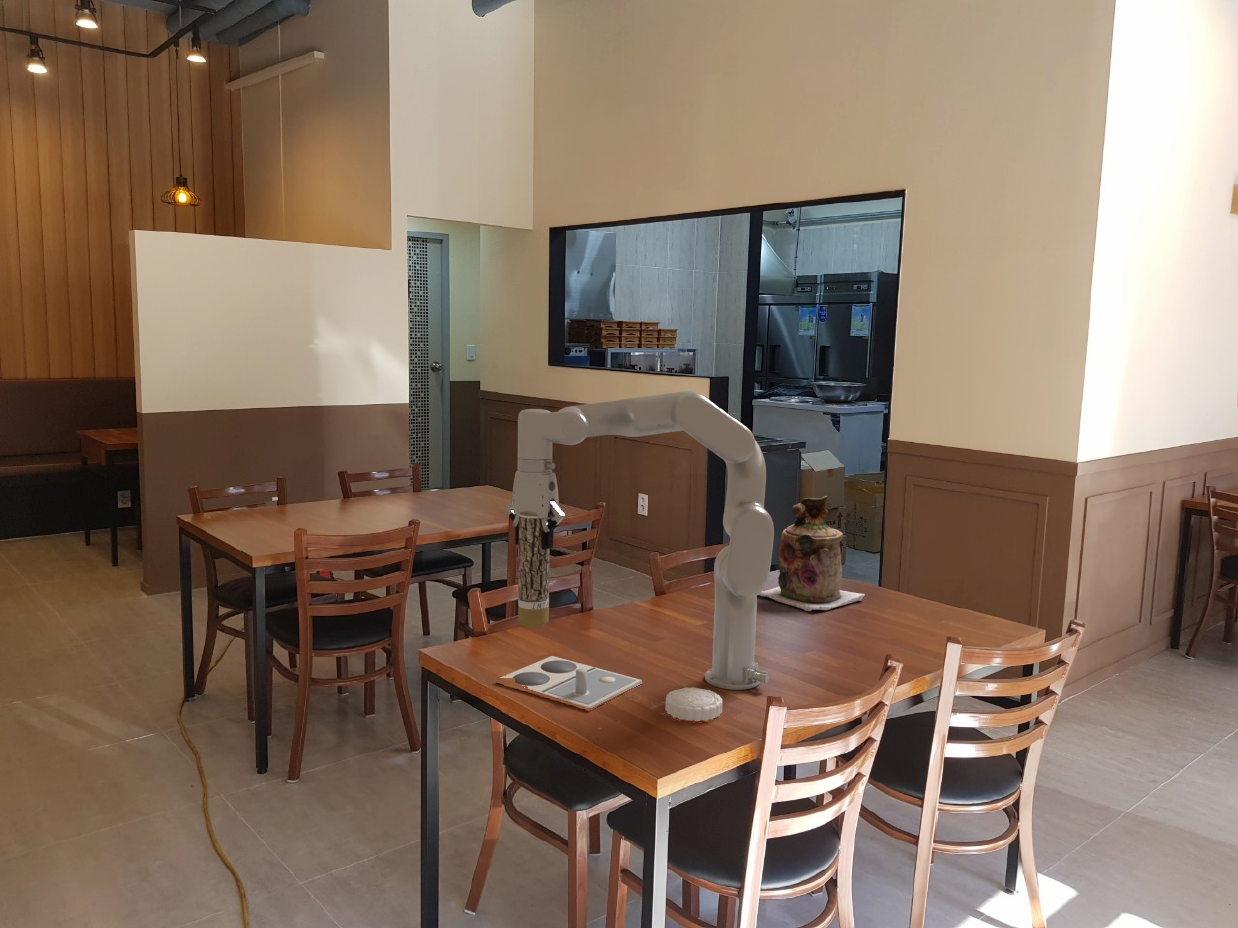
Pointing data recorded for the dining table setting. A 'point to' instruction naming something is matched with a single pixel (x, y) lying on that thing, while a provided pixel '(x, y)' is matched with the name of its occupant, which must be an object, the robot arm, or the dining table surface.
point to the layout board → (573, 681)
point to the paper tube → (532, 573)
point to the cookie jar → (811, 561)
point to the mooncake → (693, 704)
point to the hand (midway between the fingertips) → (534, 545)
